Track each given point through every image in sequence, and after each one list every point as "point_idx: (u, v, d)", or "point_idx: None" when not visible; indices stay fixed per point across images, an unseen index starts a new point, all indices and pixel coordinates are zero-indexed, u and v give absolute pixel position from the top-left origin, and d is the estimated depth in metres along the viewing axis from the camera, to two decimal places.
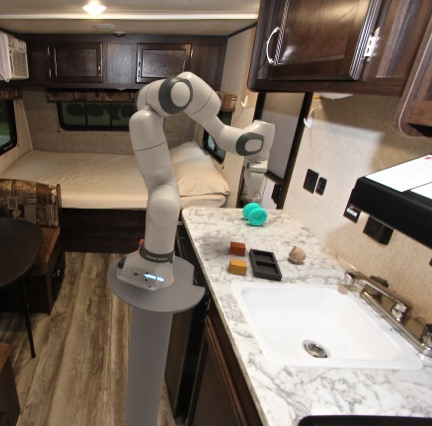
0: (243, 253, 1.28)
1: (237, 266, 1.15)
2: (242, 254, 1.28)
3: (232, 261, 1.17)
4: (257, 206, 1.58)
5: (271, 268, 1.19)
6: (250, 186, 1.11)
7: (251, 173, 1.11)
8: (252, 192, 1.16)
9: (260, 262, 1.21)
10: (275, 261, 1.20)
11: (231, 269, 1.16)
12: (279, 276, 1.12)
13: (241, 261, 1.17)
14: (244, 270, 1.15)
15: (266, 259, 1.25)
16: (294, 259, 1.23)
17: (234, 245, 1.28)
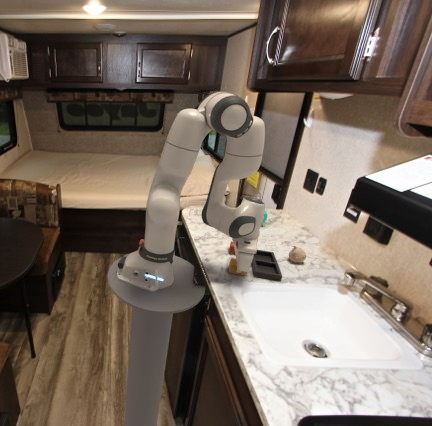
0: None
1: None
2: None
3: (232, 261, 1.17)
4: None
5: (271, 268, 1.19)
6: (239, 267, 1.06)
7: (240, 254, 1.06)
8: None
9: (260, 262, 1.21)
10: (275, 261, 1.20)
11: (231, 269, 1.16)
12: (279, 276, 1.12)
13: None
14: None
15: (266, 259, 1.25)
16: (294, 259, 1.23)
17: None
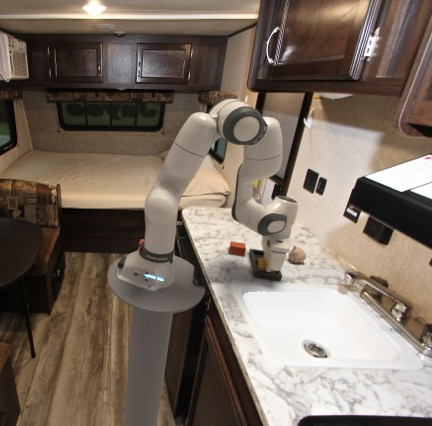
0: (243, 253, 1.28)
1: None
2: (242, 254, 1.28)
3: (261, 260, 1.16)
4: None
5: None
6: (271, 266, 1.06)
7: (272, 253, 1.05)
8: None
9: None
10: None
11: (260, 268, 1.15)
12: (279, 276, 1.12)
13: None
14: None
15: None
16: (294, 259, 1.23)
17: (234, 245, 1.28)
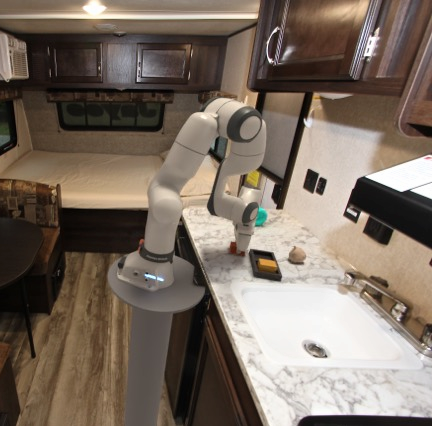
0: (243, 253, 1.28)
1: (267, 266, 1.14)
2: (242, 254, 1.28)
3: (261, 261, 1.17)
4: None
5: None
6: (238, 247, 1.19)
7: (239, 235, 1.18)
8: None
9: None
10: (275, 261, 1.20)
11: (260, 269, 1.16)
12: (279, 276, 1.12)
13: (270, 261, 1.17)
14: (273, 270, 1.14)
15: (266, 259, 1.25)
16: (294, 259, 1.23)
17: (234, 245, 1.28)
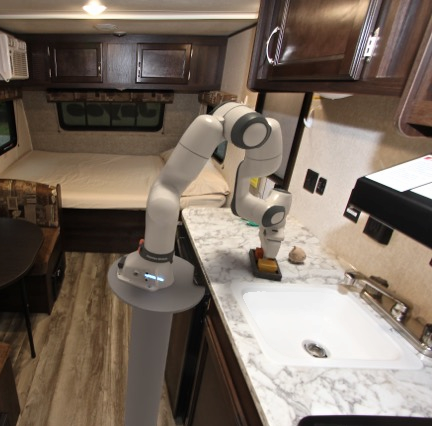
0: None
1: (267, 266, 1.14)
2: None
3: (261, 261, 1.17)
4: None
5: None
6: (267, 253, 1.13)
7: (268, 241, 1.12)
8: None
9: None
10: (275, 261, 1.20)
11: (260, 269, 1.16)
12: (279, 276, 1.12)
13: (270, 261, 1.17)
14: (273, 270, 1.14)
15: None
16: (294, 259, 1.23)
17: (260, 252, 1.22)
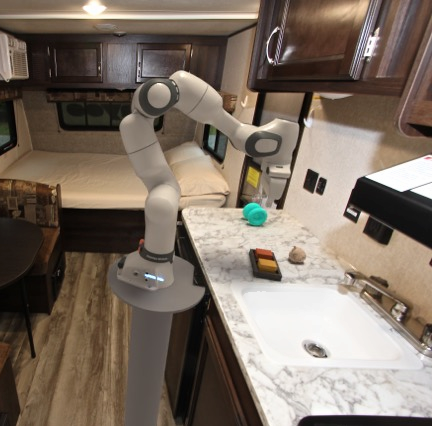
0: None
1: (267, 266, 1.14)
2: None
3: (261, 261, 1.17)
4: (257, 206, 1.58)
5: None
6: (270, 193, 0.98)
7: (272, 179, 0.97)
8: (272, 200, 1.02)
9: None
10: (275, 261, 1.20)
11: (260, 269, 1.16)
12: (279, 276, 1.12)
13: (270, 261, 1.17)
14: (273, 270, 1.14)
15: None
16: (294, 259, 1.23)
17: (260, 253, 1.22)
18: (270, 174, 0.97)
